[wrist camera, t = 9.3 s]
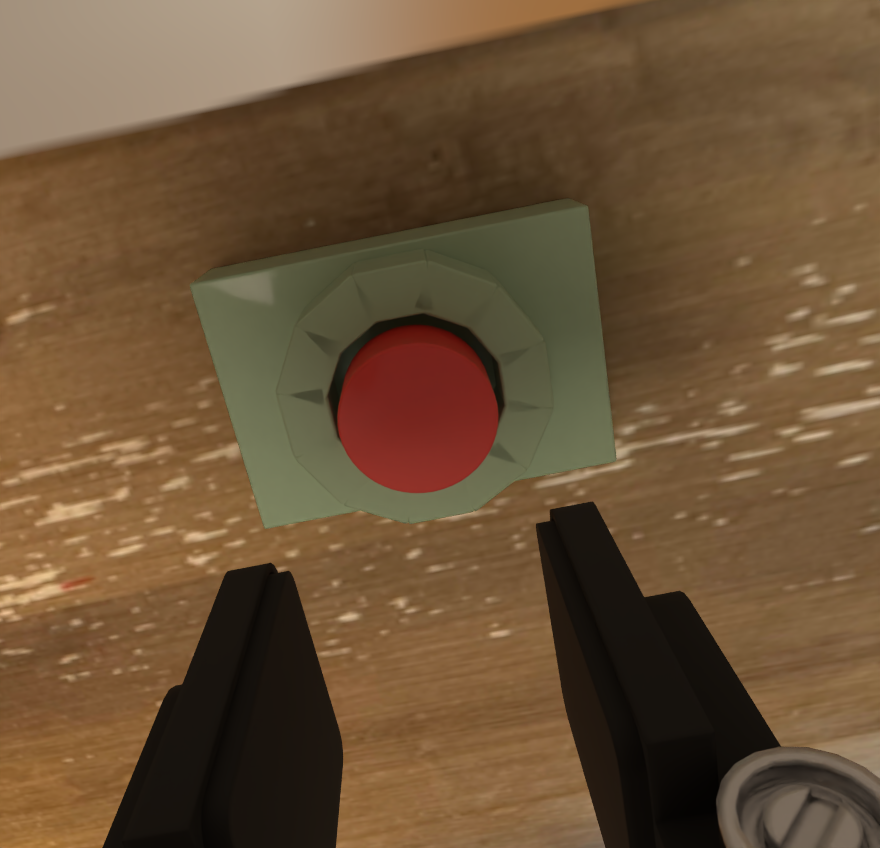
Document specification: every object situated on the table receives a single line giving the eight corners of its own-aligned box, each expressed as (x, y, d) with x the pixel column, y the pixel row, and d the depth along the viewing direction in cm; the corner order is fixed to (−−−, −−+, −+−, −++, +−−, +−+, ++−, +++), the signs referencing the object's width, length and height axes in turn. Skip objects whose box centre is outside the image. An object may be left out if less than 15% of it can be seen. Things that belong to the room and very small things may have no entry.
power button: (326, 340, 18) (319, 361, 16) (476, 310, 18) (484, 328, 16) (360, 475, 19) (357, 507, 18) (500, 448, 19) (510, 478, 18)
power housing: (208, 268, 21) (167, 298, 17) (569, 197, 21) (607, 211, 17) (275, 495, 23) (252, 564, 20) (598, 432, 23) (636, 490, 19)
